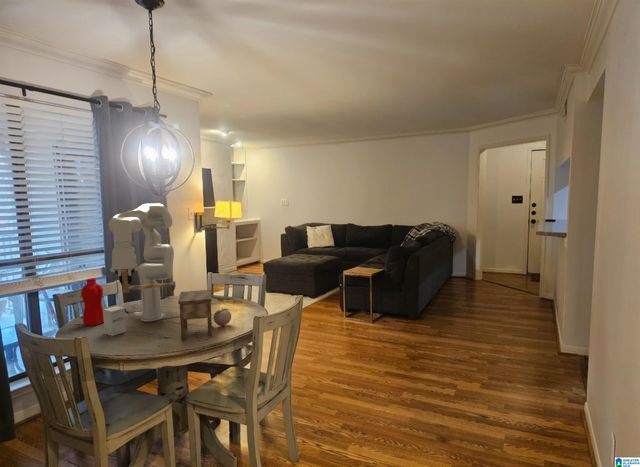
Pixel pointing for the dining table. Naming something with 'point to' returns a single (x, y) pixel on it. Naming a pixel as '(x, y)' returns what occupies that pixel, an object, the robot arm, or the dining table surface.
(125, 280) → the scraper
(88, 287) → the water bottle
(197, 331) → the token
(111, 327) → the supplement box
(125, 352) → the dining table surface
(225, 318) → the decorative fruit
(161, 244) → the robot arm
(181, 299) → the cabinet
